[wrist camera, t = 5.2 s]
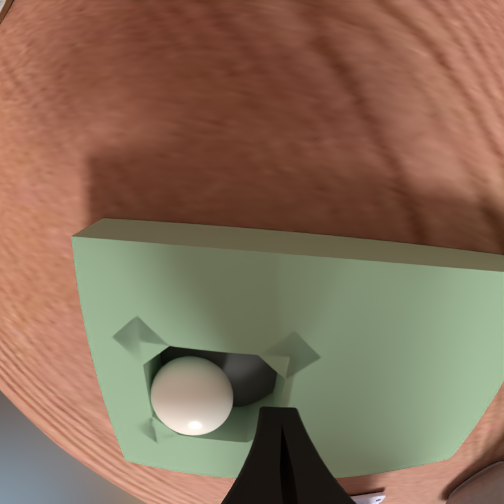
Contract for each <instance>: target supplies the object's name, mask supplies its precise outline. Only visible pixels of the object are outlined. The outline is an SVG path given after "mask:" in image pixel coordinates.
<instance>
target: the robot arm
mask: <svg viewBox="0 0 504 504" xmlns="http://www.w3.org/2000/svg"><path fill="white" fill-rule="evenodd" d="M385 496H386V494H385V492H379V493H373V494H367V495H359V496H352V497H350V496H349V495H348V494H347V493H346V491H345V490H344V489H343V488H342V487H341V485H340V484H339V483H338V482H337V480H336V479H335V478H334V476H333V475H332V474H331V472H330V471H329V469H328V468H327V466H326V465H325V463H324V462H323V460H322V458H321V457H320V455H319V453H318V452H317V450H316V448H315V446H314V445H313V443H312V441H311V439H310V437H309V435H308V433H307V431H306V429H305V426H304V424H303V422H302V419H301V417H300V414H299V412H298V409H297V408H296V407H267V406H263V407H261V408H260V409H259V415H258V422H257V428H256V434H255V437H254V440H253V443H252V445H251V448H250V451H249V453H248V456H247V458H246V460H245V462H244V464H243V467H242V469H241V471H240V473H239V475H238V477H237V478H236V480H235V482H234V484H233V486H232V487H231V489H230V491H229V492H228V494H227V495H226V497H225V498H224V500H223V501H222V503H221V504H379V503H380V502H381V501H382V500H383V499H384V498H385Z"/></svg>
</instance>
